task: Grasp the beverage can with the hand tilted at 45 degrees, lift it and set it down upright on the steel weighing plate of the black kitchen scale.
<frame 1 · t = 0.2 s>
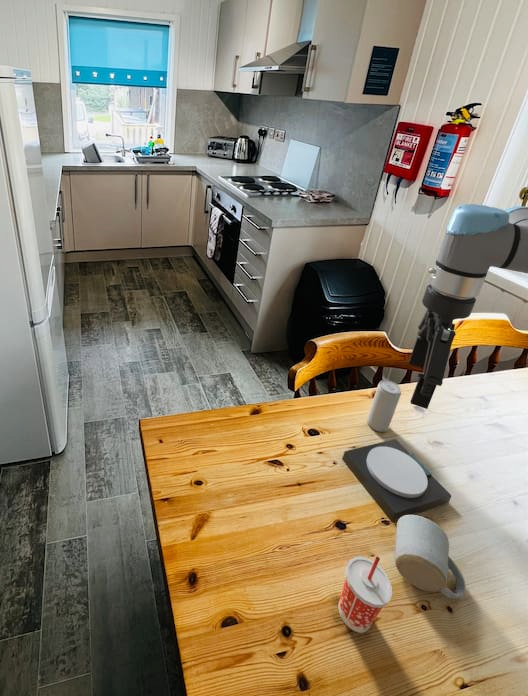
hand: (417, 383, 79), 21 cm above the table, tool pointing down, fingers open, 13 cm apart
beverage can: (376, 425, 96), on the table
kitchen scale: (392, 480, 82), on the table
beverage cup: (353, 614, 61), on the table
ceramic mug: (423, 570, 67), on the table
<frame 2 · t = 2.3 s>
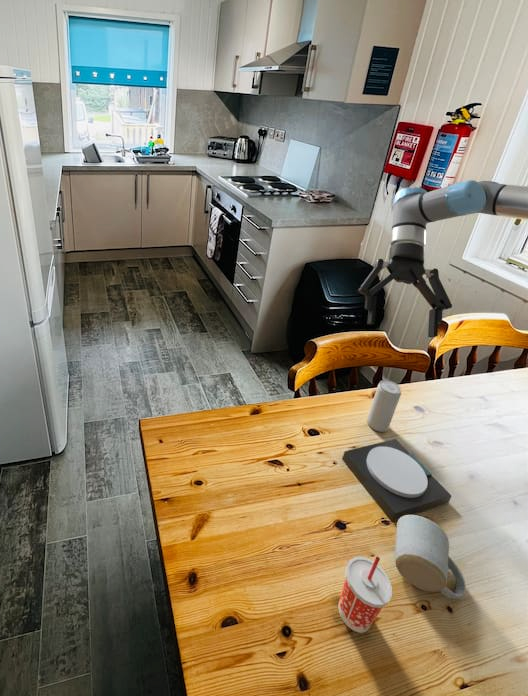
hand: (401, 330, 93), 23 cm above the table, tool tilted 40°, fingers open, 13 cm apart
nothing on the table moved.
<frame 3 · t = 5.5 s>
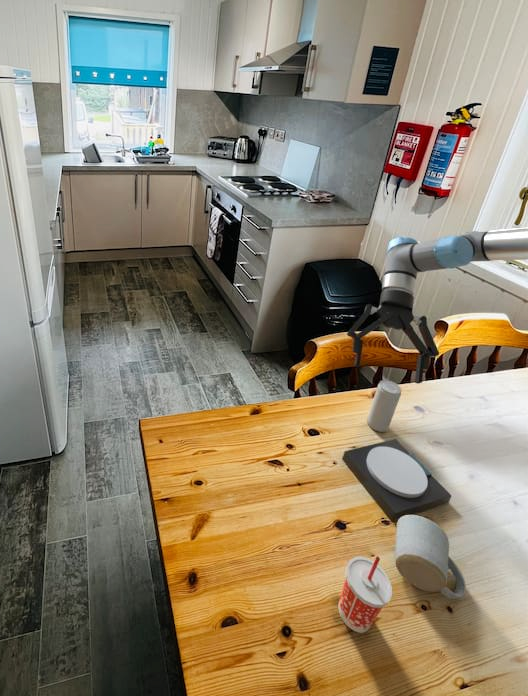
hand: (386, 374, 96), 11 cm above the table, tool tilted 45°, fingers open, 13 cm apart
nothing on the table moved.
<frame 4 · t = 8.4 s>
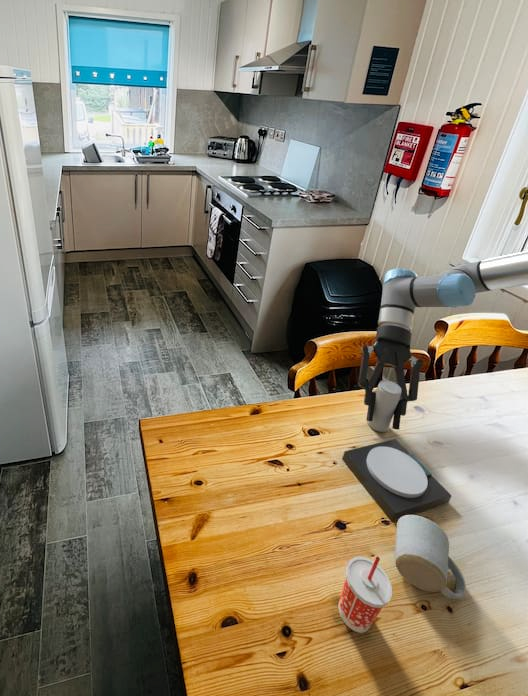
hand: (382, 424, 91), 4 cm above the table, tool tilted 45°, fingers closed on beverage can, 5 cm apart
beverage can: (376, 425, 96), on the table, touching gripper
everything else where it was.
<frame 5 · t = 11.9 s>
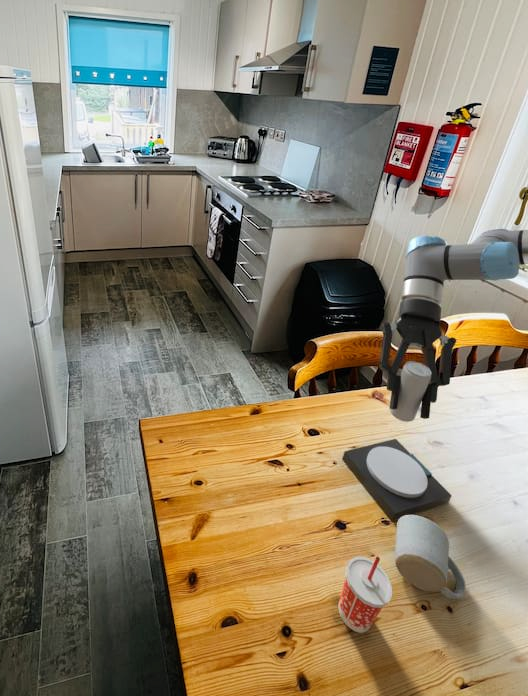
hand: (408, 413, 78), 16 cm above the table, tool tilted 45°, fingers closed on beverage can, 5 cm apart
beverage can: (400, 415, 83), point 12 cm above the table, touching gripper
everything else where it was.
when the fingers open (7 cm above the table, at t = 15.4 s): beverage can stays where it is, resting on kitchen scale.
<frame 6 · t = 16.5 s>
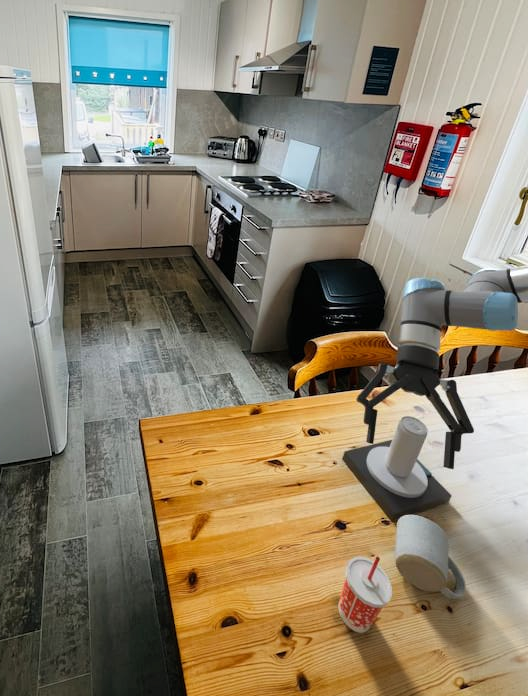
hand: (407, 455, 77), 10 cm above the table, tool tilted 45°, fingers open, 13 cm apart
beverage can: (396, 469, 81), point 3 cm above the table, touching kitchen scale
everything else where it was.
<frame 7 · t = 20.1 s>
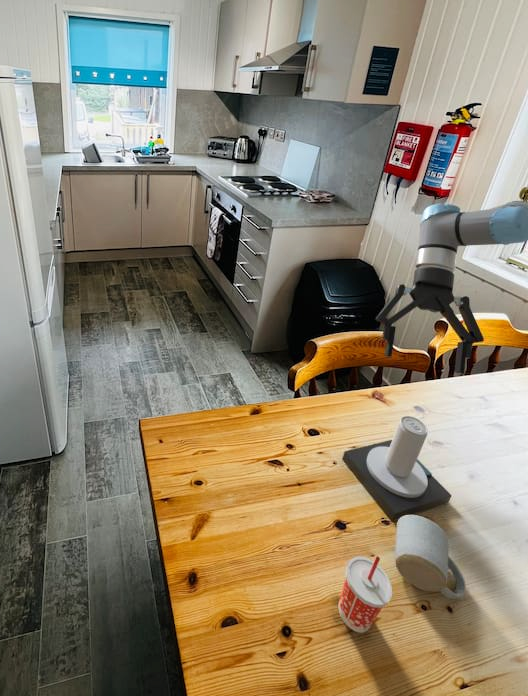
hand: (422, 364, 85), 21 cm above the table, tool tilted 35°, fingers open, 13 cm apart
nothing on the table moved.
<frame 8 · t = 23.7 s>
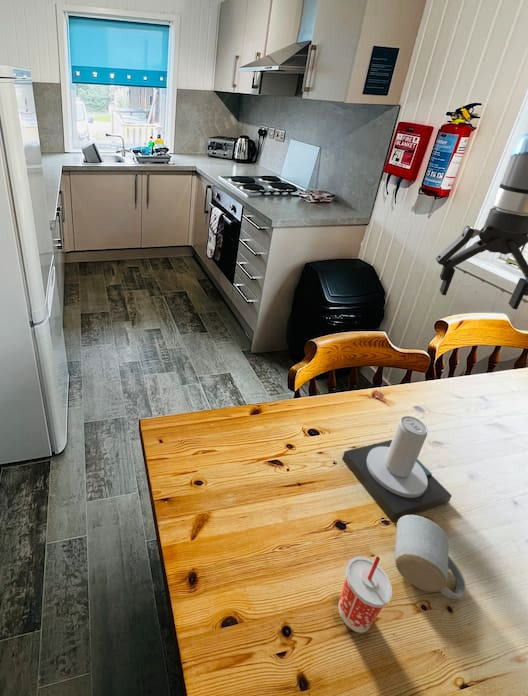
hand: (476, 299, 91), 32 cm above the table, tool pointing down, fingers open, 13 cm apart
nothing on the table moved.
at the end: beverage can inside the target area (0.1 cm from its centre), point 3.2 cm above the table; beverage can tilted 0°; the gripper is holding nothing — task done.
